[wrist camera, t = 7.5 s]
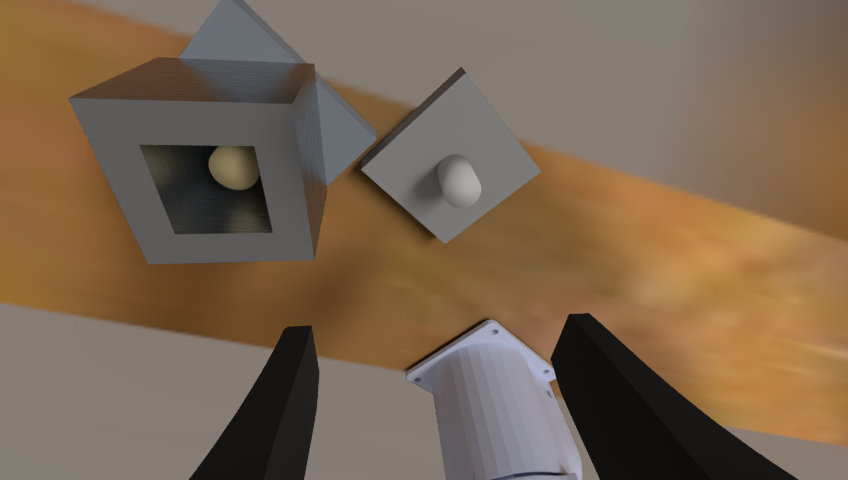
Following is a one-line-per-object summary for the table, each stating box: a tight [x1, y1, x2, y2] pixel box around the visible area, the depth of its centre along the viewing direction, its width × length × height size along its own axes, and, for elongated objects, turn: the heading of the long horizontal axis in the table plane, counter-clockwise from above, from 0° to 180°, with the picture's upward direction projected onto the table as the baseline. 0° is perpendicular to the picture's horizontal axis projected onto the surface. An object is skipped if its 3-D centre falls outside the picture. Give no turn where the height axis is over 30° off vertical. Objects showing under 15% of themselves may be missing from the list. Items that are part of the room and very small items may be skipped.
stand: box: [361, 67, 541, 244], centre depth 17 cm, size 6×6×3 cm
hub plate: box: [179, 0, 377, 190], centre depth 15 cm, size 7×7×4 cm
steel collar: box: [68, 57, 327, 264], centre depth 13 cm, size 5×5×5 cm
